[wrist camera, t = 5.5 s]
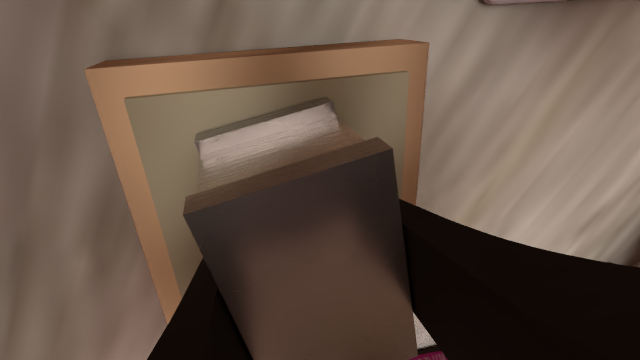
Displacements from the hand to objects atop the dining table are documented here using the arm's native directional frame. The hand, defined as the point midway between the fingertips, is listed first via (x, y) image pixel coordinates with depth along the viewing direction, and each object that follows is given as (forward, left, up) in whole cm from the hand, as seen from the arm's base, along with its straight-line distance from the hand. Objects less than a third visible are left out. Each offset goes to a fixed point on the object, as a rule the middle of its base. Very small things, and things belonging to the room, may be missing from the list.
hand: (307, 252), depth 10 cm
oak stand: (0, 0, -5) cm, 5 cm away
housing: (0, 0, -2) cm, 3 cm away
